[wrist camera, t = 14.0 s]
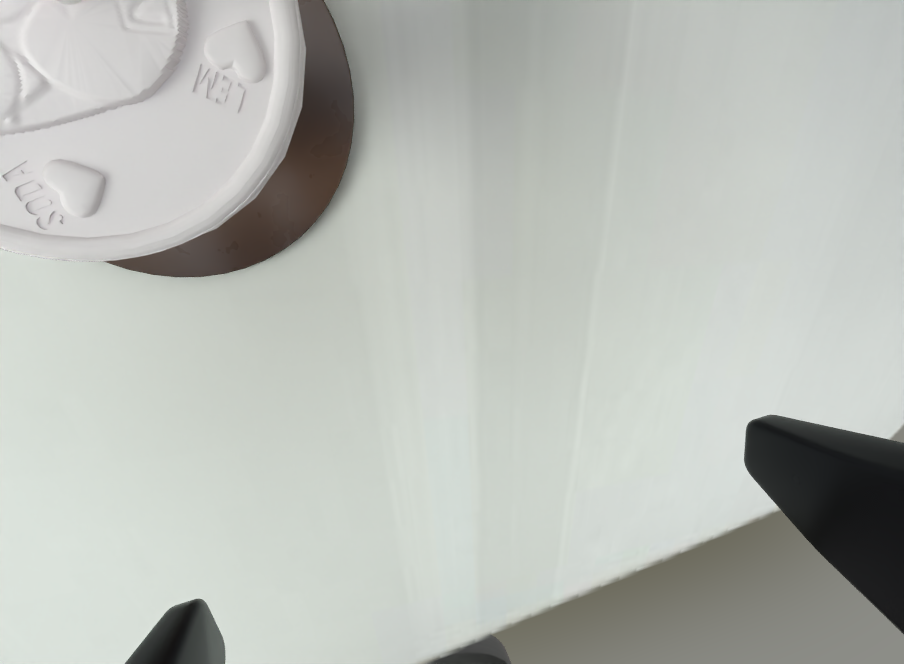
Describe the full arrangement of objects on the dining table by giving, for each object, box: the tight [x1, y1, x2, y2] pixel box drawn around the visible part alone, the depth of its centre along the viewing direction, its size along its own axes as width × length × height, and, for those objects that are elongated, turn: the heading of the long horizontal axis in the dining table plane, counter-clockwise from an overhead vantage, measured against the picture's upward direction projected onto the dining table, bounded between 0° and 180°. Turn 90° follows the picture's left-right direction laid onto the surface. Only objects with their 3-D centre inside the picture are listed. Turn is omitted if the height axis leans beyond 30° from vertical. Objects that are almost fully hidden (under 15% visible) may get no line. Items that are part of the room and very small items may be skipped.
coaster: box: [104, 0, 354, 277], centre depth 15 cm, size 11×11×1 cm
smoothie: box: [0, 0, 306, 262], centre depth 9 cm, size 6×6×14 cm
